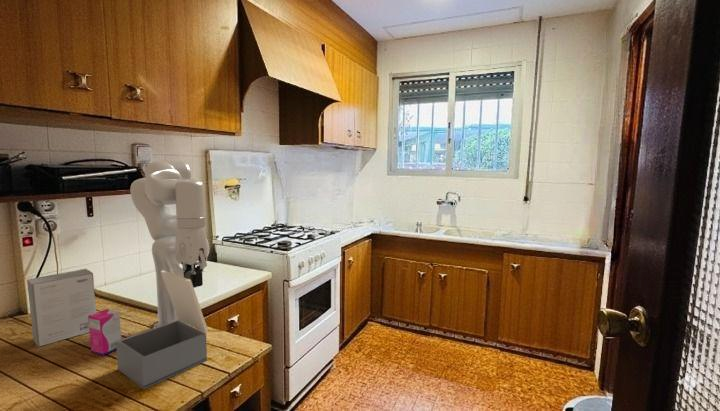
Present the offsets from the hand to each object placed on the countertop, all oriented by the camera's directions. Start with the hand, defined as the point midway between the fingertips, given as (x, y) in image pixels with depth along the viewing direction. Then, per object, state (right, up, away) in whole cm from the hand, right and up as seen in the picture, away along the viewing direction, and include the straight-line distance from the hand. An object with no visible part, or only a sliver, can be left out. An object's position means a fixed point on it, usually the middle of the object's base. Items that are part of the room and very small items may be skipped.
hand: (193, 284), depth 106 cm
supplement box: (-27, -20, +2) cm, 34 cm away
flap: (-2, -4, -2) cm, 5 cm away
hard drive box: (-47, -19, +11) cm, 52 cm away
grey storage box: (-6, -21, -5) cm, 23 cm away
